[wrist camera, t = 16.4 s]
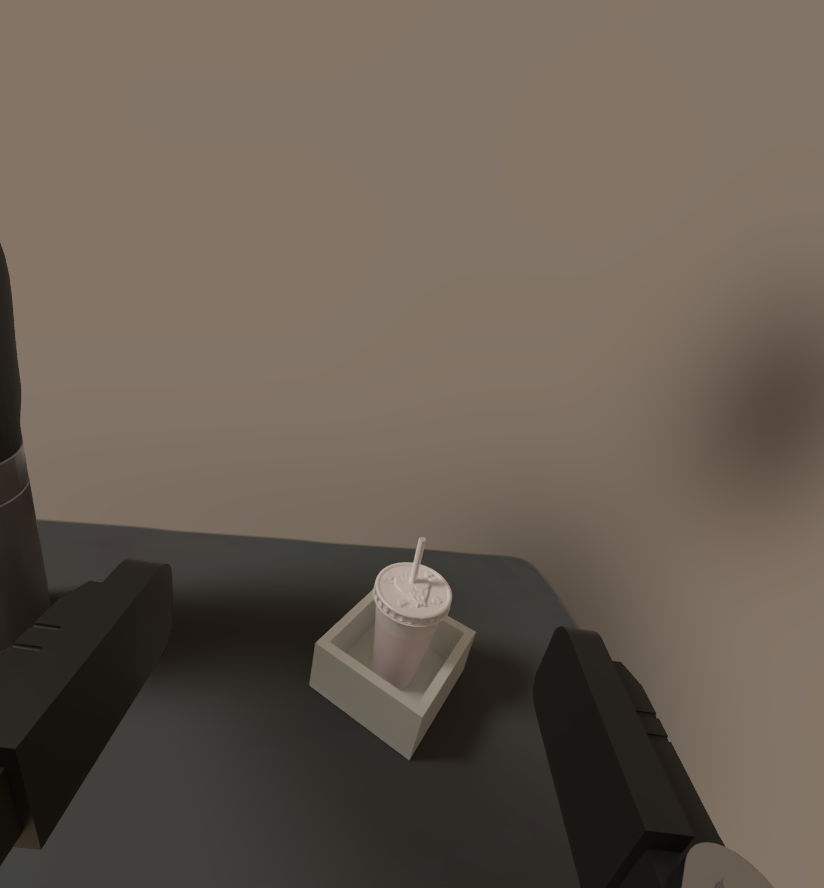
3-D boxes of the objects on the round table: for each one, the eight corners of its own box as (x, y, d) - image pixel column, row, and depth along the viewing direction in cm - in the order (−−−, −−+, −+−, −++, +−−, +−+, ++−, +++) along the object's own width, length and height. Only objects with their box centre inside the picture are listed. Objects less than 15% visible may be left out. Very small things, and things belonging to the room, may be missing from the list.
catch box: (309, 685, 38) (315, 642, 36) (376, 616, 47) (384, 579, 45) (409, 760, 34) (422, 717, 32) (462, 670, 43) (476, 632, 41)
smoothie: (416, 638, 44) (447, 518, 38) (438, 699, 38) (479, 569, 33) (351, 646, 42) (374, 520, 36) (365, 711, 36) (396, 575, 31)
